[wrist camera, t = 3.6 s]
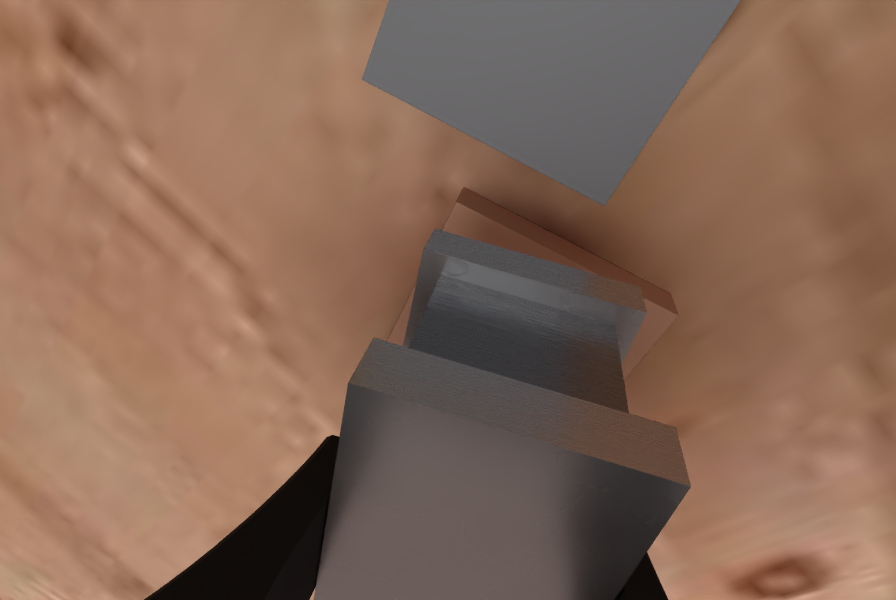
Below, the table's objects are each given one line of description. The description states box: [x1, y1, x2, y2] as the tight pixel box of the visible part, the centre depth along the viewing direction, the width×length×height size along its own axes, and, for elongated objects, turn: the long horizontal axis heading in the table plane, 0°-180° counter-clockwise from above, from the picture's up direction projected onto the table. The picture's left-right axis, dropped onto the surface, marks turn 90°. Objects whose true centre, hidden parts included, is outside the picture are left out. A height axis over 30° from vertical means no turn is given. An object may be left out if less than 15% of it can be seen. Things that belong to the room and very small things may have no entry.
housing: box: [314, 229, 691, 600], centre depth 12 cm, size 5×7×6 cm
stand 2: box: [387, 188, 679, 380], centre depth 20 cm, size 8×10×2 cm
